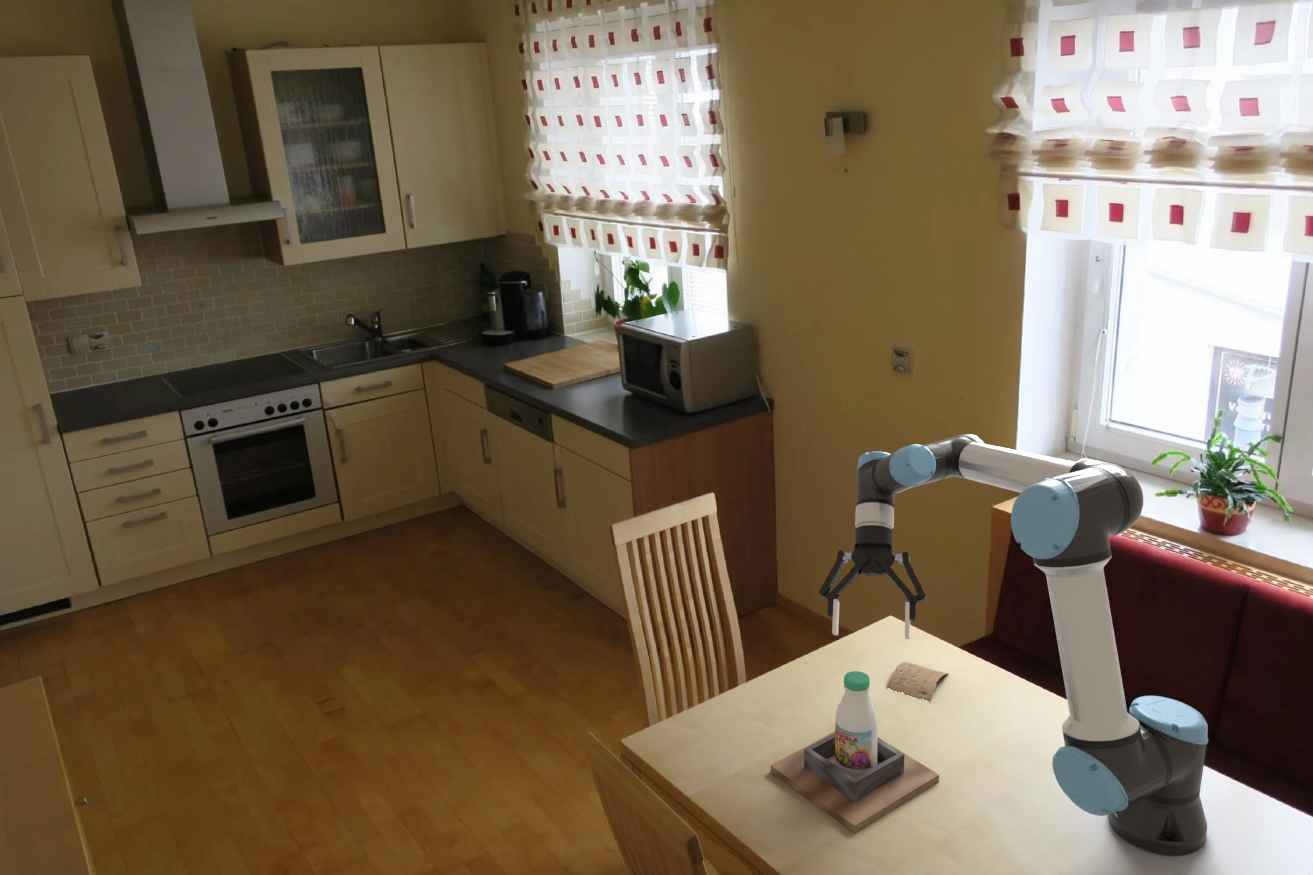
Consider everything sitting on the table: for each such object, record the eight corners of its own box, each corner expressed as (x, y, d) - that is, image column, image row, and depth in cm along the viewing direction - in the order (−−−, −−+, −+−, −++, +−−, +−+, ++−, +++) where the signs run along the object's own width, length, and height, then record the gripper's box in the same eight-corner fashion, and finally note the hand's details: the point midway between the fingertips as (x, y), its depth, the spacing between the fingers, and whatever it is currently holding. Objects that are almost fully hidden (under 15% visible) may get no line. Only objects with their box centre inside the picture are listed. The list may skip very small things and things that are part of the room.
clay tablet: (929, 706, 213) (930, 695, 212) (883, 694, 218) (883, 683, 218) (950, 673, 225) (951, 663, 224) (906, 662, 230) (906, 652, 229)
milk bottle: (847, 752, 197) (848, 661, 190) (884, 766, 192) (885, 673, 186) (827, 773, 191) (827, 680, 185) (864, 788, 186) (865, 693, 180)
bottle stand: (938, 781, 189) (939, 756, 188) (854, 832, 177) (855, 806, 176) (852, 727, 206) (852, 704, 205) (770, 771, 195) (770, 747, 193)
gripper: (940, 535, 202) (939, 642, 194) (814, 533, 209) (809, 636, 202) (938, 524, 195) (937, 635, 187) (808, 522, 203) (802, 628, 195)
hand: (870, 635), depth 195 cm, fingers open, 13 cm apart
